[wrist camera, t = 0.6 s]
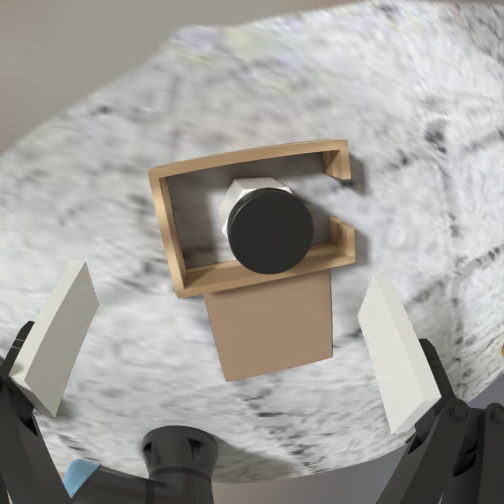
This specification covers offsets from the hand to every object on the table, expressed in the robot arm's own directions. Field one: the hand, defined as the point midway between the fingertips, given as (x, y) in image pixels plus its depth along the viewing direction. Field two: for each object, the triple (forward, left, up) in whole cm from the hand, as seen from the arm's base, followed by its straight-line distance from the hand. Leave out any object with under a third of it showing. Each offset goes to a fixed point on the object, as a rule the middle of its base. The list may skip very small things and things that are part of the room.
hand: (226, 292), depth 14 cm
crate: (-3, -5, -27) cm, 28 cm away
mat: (-21, -5, -27) cm, 35 cm away
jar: (-3, -5, -27) cm, 28 cm away
